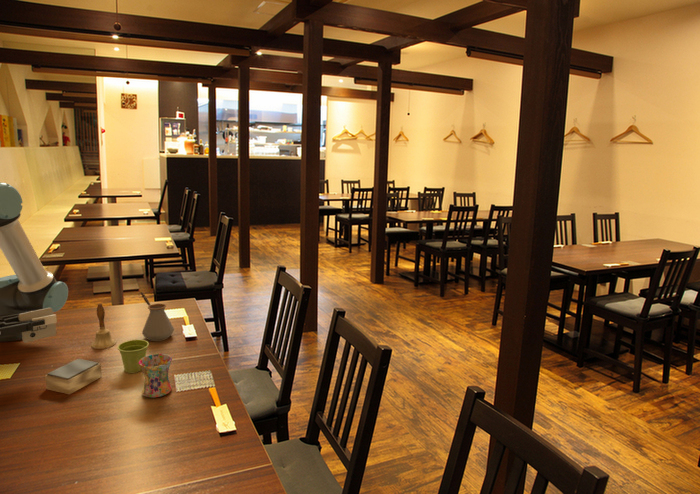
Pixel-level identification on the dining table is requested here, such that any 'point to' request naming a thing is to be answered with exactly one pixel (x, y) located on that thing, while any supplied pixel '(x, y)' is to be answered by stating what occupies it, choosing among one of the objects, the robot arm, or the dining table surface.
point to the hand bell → (102, 332)
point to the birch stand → (73, 376)
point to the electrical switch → (38, 331)
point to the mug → (156, 375)
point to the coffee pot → (157, 322)
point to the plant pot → (133, 354)
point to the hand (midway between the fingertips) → (54, 316)
